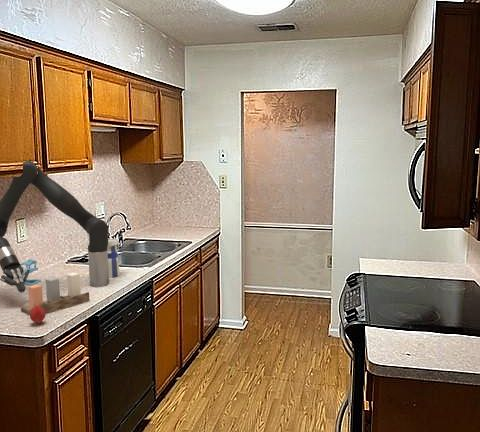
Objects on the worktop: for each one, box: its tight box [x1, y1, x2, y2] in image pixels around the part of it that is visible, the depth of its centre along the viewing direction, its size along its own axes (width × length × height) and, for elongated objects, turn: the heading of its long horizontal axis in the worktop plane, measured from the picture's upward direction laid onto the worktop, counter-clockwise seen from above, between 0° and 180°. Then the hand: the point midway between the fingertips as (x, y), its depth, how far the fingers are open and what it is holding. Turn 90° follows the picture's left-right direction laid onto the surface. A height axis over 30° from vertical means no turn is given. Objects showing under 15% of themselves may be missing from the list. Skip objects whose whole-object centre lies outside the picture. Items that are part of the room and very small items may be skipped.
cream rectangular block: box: [66, 272, 81, 297], centre depth 223 cm, size 4×4×10 cm
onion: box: [29, 304, 46, 325], centre depth 195 cm, size 6×6×8 cm
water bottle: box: [107, 238, 121, 279], centre depth 259 cm, size 8×9×25 cm
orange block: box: [27, 283, 44, 310], centre depth 206 cm, size 4×4×10 cm
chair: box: [20, 259, 42, 286], centre depth 249 cm, size 8×8×12 cm
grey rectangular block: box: [45, 276, 61, 303], centre depth 216 cm, size 4×4×10 cm
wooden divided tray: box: [20, 291, 91, 316], centre depth 215 cm, size 26×11×4 cm, turn 139°
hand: (23, 291), depth 213 cm, fingers closed
